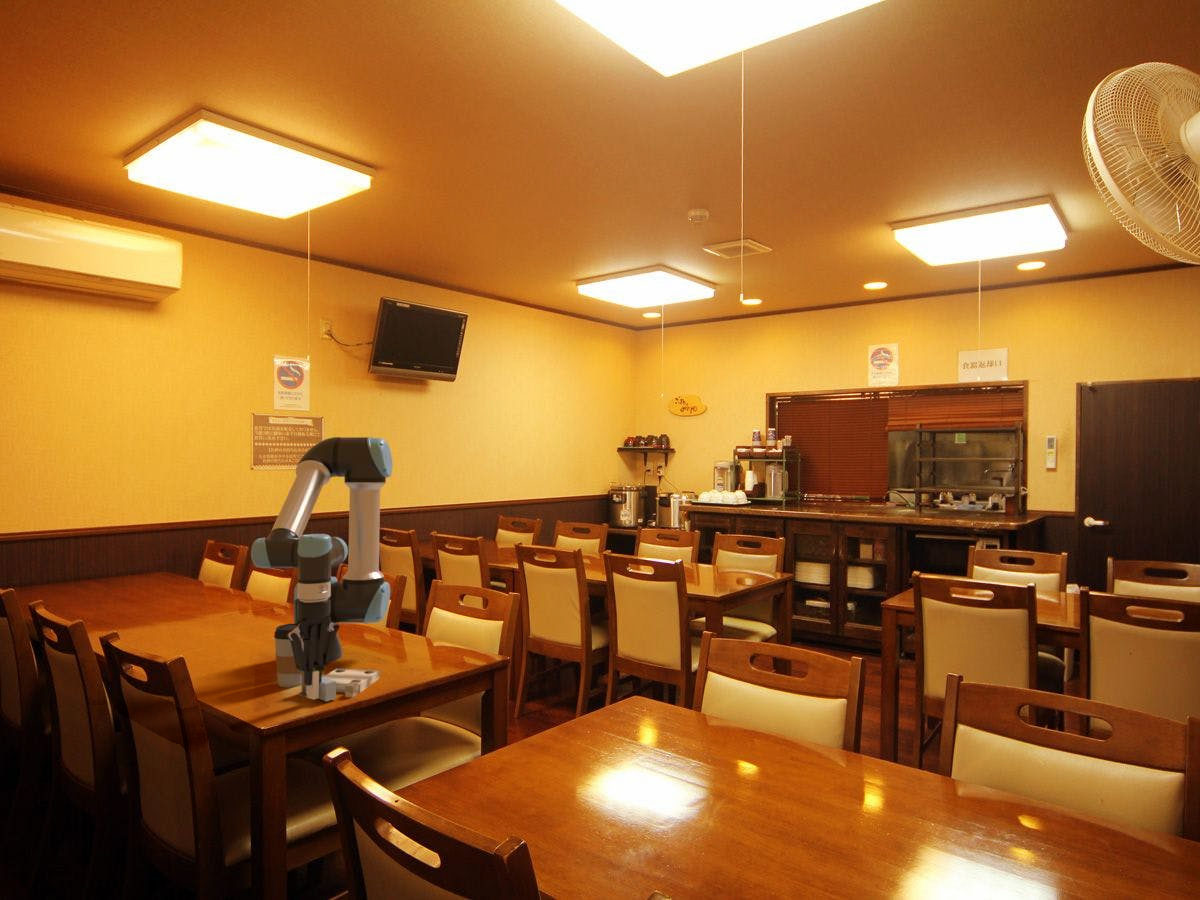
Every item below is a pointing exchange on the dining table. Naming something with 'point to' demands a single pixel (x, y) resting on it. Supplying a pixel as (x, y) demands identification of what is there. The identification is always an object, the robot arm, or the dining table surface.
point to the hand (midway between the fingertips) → (312, 697)
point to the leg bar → (323, 688)
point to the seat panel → (351, 680)
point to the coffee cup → (286, 658)
